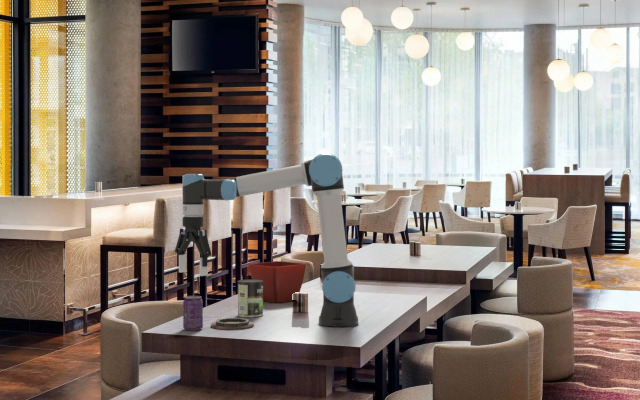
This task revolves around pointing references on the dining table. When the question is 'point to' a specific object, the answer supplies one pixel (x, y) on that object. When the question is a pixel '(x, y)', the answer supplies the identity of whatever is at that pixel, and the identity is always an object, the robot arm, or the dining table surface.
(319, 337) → the dining table surface
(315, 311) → the dining table surface
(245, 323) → the coaster
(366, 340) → the dining table surface
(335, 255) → the robot arm
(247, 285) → the coffee can
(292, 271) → the plant pot
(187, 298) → the beverage can
